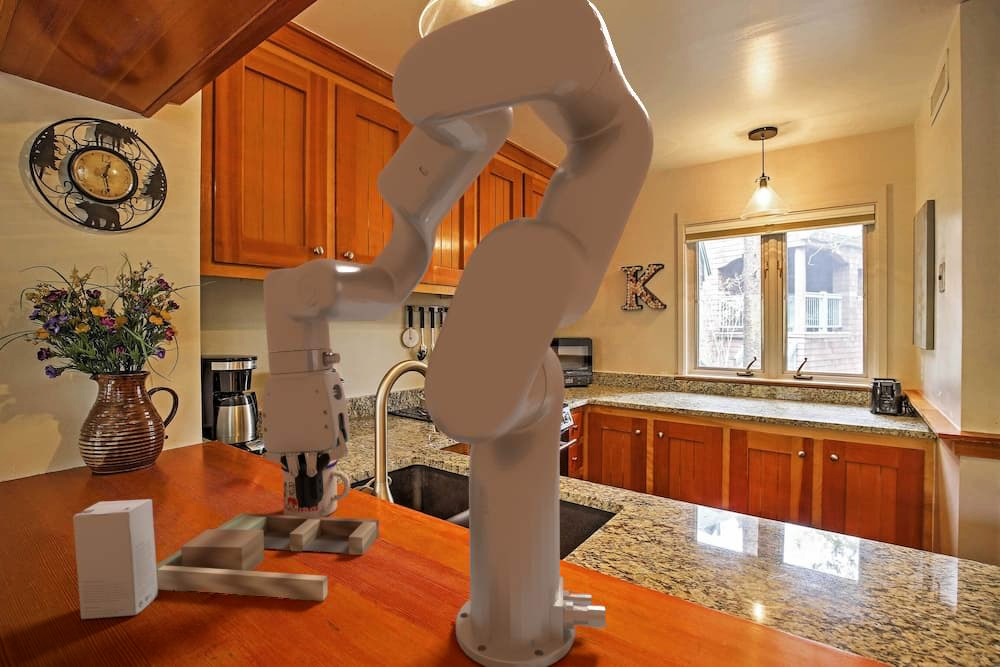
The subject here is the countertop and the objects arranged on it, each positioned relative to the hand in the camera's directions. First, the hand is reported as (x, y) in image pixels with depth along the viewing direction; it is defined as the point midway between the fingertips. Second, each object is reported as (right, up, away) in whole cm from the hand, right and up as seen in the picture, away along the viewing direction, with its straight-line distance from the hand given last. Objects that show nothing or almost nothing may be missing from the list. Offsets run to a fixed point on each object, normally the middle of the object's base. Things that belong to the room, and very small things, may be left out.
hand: (310, 504), depth 61 cm
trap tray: (-6, -9, +4) cm, 12 cm away
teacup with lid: (-7, -9, +20) cm, 23 cm away
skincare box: (-19, -10, -7) cm, 23 cm away
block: (-12, -10, +2) cm, 15 cm away
